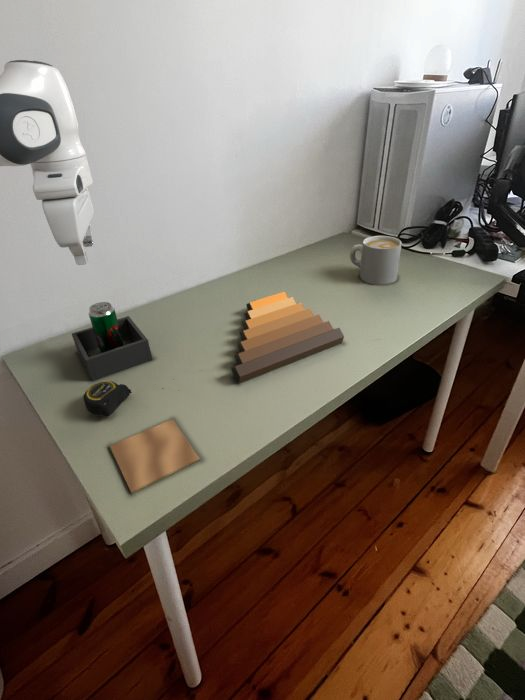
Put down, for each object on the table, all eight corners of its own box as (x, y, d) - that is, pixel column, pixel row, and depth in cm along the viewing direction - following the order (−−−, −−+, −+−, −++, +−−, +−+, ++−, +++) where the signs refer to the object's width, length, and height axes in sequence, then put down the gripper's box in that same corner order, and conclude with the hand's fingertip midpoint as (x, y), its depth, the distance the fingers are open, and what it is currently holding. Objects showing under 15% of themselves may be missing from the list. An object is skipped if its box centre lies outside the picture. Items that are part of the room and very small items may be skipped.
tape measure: (110, 423, 76) (104, 407, 74) (79, 414, 78) (73, 398, 76) (133, 399, 81) (129, 383, 79) (104, 391, 83) (99, 376, 81)
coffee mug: (403, 275, 120) (408, 240, 114) (385, 288, 114) (389, 251, 108) (362, 264, 128) (364, 231, 122) (342, 275, 122) (344, 241, 116)
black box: (92, 381, 86) (85, 360, 83) (77, 352, 95) (71, 333, 92) (152, 359, 92) (147, 339, 89) (133, 334, 101) (128, 315, 98)
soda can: (101, 353, 94) (85, 304, 88) (124, 347, 96) (111, 298, 89) (103, 365, 91) (88, 315, 84) (128, 358, 92) (114, 309, 86)
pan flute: (240, 385, 83) (343, 344, 93) (239, 371, 81) (344, 331, 91) (190, 330, 101) (281, 301, 111) (188, 317, 99) (280, 289, 109)
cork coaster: (131, 493, 63) (130, 491, 63) (110, 447, 71) (109, 445, 71) (199, 460, 68) (199, 458, 67) (172, 420, 75) (172, 418, 75)
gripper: (55, 166, 81) (76, 238, 89) (29, 191, 64) (58, 277, 72) (90, 163, 82) (108, 234, 90) (73, 187, 65) (97, 272, 73)
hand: (85, 254), depth 81 cm, fingers open, 8 cm apart
